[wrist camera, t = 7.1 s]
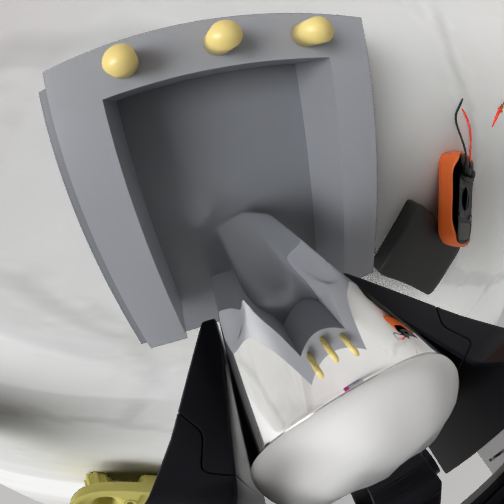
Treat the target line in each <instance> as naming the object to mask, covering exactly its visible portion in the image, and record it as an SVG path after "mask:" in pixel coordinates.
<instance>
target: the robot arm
mask: <svg viewBox="0 0 504 504" xmlns="http://www.w3.org/2000/svg"><path fill="white" fill-rule="evenodd" d="M344 275H345V276H346V277H348V278H349V279H350V280H352V281H353V282H354V283H355V284H357V285H358V286H359V287H361V288H362V289H363V290H365V291H366V292H367V293H369V294H370V295H371V296H373V297H374V298H375V299H376V300H378V301H379V302H380V303H382V304H383V305H384V306H385V307H387V308H388V309H389V310H390V311H391V312H393V313H394V314H395V315H396V316H398V317H399V318H400V319H401V320H403V321H404V322H405V323H406V324H407V325H409V326H410V327H411V328H412V329H413V330H415V331H416V332H417V333H418V334H419V335H421V336H422V337H423V338H424V339H425V340H427V341H428V342H429V343H430V344H431V345H433V346H434V347H435V348H436V349H437V350H438V351H439V352H441V353H442V354H443V355H444V356H446V357H447V358H449V359H450V360H451V361H452V362H453V363H454V365H455V366H456V368H457V371H458V377H459V389H458V395H457V401H456V404H455V406H454V408H453V410H452V412H451V414H450V416H449V418H448V419H447V421H446V422H445V424H444V425H443V428H442V429H441V431H440V433H439V435H438V436H437V438H436V439H435V440H434V441H433V442H432V443H431V445H429V446H428V447H429V448H430V450H431V451H432V453H433V455H434V456H435V458H436V459H437V461H438V463H439V464H440V465H441V467H442V469H443V470H444V472H445V473H448V472H450V471H451V470H453V469H454V468H455V467H457V466H458V465H460V464H461V463H462V462H464V461H465V460H467V459H468V458H469V457H471V456H472V455H473V454H475V453H476V452H478V454H479V455H480V457H481V458H482V459H483V461H484V462H485V464H486V465H487V466H488V468H489V469H490V470H491V472H492V473H493V475H492V476H491V477H490V478H489V479H488V480H487V481H486V482H485V483H483V484H482V485H481V486H480V487H479V488H478V489H477V490H476V491H475V492H474V493H473V494H471V495H470V496H469V497H468V498H467V499H466V500H465V501H463V502H462V503H461V504H504V328H503V327H499V326H495V325H492V324H488V323H484V322H481V321H477V320H474V319H470V318H467V317H464V316H461V315H458V314H455V313H452V312H449V311H446V310H444V309H441V308H439V307H435V306H433V305H430V304H428V303H425V302H422V301H420V300H417V299H415V298H412V297H409V296H407V295H404V294H401V293H399V292H396V291H393V290H391V289H388V288H385V287H382V286H380V285H377V284H374V283H372V282H369V281H366V280H364V279H361V278H358V277H355V276H353V275H350V274H347V273H344ZM178 413H179V414H177V418H176V422H175V426H174V429H173V433H172V436H171V440H170V443H169V445H168V448H167V451H166V454H165V456H164V459H163V462H162V464H161V467H160V469H159V472H158V474H157V477H156V479H155V482H154V484H153V487H152V489H151V492H150V494H149V497H148V498H147V500H146V502H145V504H266V503H265V499H264V495H263V494H262V493H261V492H260V491H259V490H258V489H257V487H256V486H255V484H254V482H253V480H252V478H251V471H250V468H249V464H248V460H247V456H246V452H245V447H244V443H243V438H242V434H241V429H240V424H239V420H238V415H237V410H236V405H235V400H234V395H233V390H232V385H231V379H230V373H229V367H228V361H227V355H226V350H225V345H224V341H223V338H222V336H221V333H220V330H219V327H218V325H217V322H216V320H215V319H210V320H207V321H204V322H202V324H201V328H200V331H199V335H198V338H197V342H196V346H195V349H194V353H193V357H192V361H191V364H190V368H189V372H188V376H187V379H186V383H185V387H184V391H183V395H182V398H181V402H180V406H179V410H178ZM439 472H440V469H439V467H438V465H437V464H436V462H435V460H434V459H433V458H432V456H431V455H430V454H429V452H428V451H427V450H426V449H424V450H423V451H421V452H420V453H418V454H416V455H415V456H413V457H411V458H409V459H408V460H406V461H405V462H404V463H403V464H401V465H400V466H399V467H398V468H397V469H396V470H395V471H394V472H393V473H392V474H391V475H390V476H389V477H387V478H386V479H384V480H382V481H380V482H378V483H376V484H374V485H371V486H369V487H368V490H369V492H370V495H371V497H372V499H373V502H374V504H440V502H441V486H442V482H441V480H440V479H439V477H438V476H437V474H438V473H439Z"/></svg>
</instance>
